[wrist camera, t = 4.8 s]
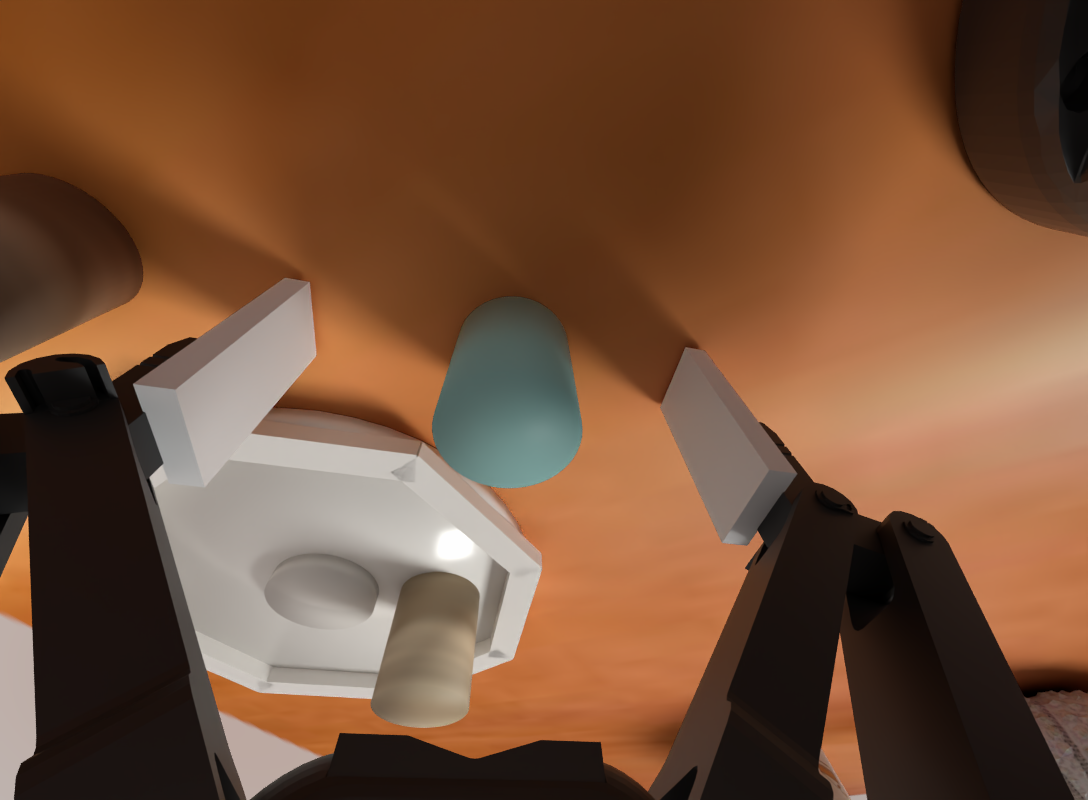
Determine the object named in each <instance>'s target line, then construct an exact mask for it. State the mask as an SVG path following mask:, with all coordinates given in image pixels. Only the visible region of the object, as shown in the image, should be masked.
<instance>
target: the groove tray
mask: <svg viewBox="0 0 1088 800" xmlns="http://www.w3.org/2000/svg"><path fill="white" fill-rule="evenodd" d="M150 480H151V482H152V485H153V487H154V491H155V494H156V498H157V501H158V505H159V508H160V512H161V515H162V518H163V522H164V525H165V529H166V532H167V536H168V539H169V543H170V546H171V550H172V553H173V557H174V560H175V563H176V567H177V570H178V574H179V577H180V581H181V584H182V588H183V591H184V595H185V598H186V601H187V605H188V608H189V612H190V615H191V619H192V622H193V626H194V629H195V633H196V636H197V639H198V643H199V646H200V650H201V653H202V657H203V660H204V664H205V667H206V670H208V671H210V672H213V673H215V674H217V675H220V676H222V677H224V678H227V679H229V680H231V681H234V682H236V683H238V684H241V685H243V686H245V687H248V688H250V689H252V690H255V691H257V692H260V693H277V694H295V695H313V696H331V697H349V698H367V699H372V696H373V692H374V689H375V685H376V681H377V677H378V674H379V670H380V666H381V662H382V659H383V655H384V651H385V647H386V644H387V640H388V636H389V632H390V629H391V625H392V621H393V617H394V614H395V610H396V606H397V602H398V599H399V595H400V591H401V588H402V586H403V584H404V583H405V582H406V581H407V580H409V579H410V578H412V577H414V576H416V575H419V574H422V573H428V572H446V573H452V574H456V575H459V576H461V577H464V578H466V579H468V580H469V581H470V582H472V583H473V584H474V585H475V586H476V587H477V589H478V591H479V593H480V601H479V611H478V621H477V631H476V641H475V651H474V661H473V671H472V675H473V674H475V673H478V672H481V671H483V670H486V669H489V668H491V667H494V666H496V665H499V664H502V663H504V662H507V661H510V660H512V659H513V658H514V655H515V652H516V649H517V646H518V643H519V639H520V636H521V633H522V630H523V627H524V624H525V621H526V618H527V614H528V611H529V608H530V605H531V602H532V599H533V596H534V593H535V589H536V586H537V583H538V580H539V577H540V574H541V571H542V554H541V552H540V551H538V550H537V549H536V548H535V547H534V546H533V545H532V544H531V543H530V542H529V541H528V540H527V539H526V538H525V537H524V536H523V534H522V531H521V529H520V527H519V524H518V522H517V521H516V519H515V518H514V516H513V515H512V513H511V511H510V510H509V508H508V507H507V505H506V504H505V503H504V502H503V501H502V500H501V498H500V497H499V496H498V495H497V494H496V493H495V492H494V491H493V490H492V489H491V487H490V486H487V485H483V484H480V483H477V482H475V481H472V480H470V479H468V478H466V477H464V476H462V475H461V474H459V473H458V472H456V471H455V470H454V469H453V468H452V467H450V466H449V464H448V463H447V462H446V461H445V460H444V459H443V457H442V456H441V455H440V453H439V451H438V449H436V448H434V447H432V446H430V445H428V444H426V443H424V442H422V441H420V440H418V439H416V438H413V437H411V436H408V435H406V434H403V433H401V432H398V431H396V430H393V429H391V428H388V427H385V426H382V425H378V424H375V423H371V422H368V421H365V420H361V419H358V418H354V417H349V416H344V415H338V414H333V413H328V412H322V411H315V410H303V409H292V408H272V409H271V410H270V411H269V412H268V414H267V415H266V416H265V417H264V418H263V419H262V421H261V422H260V423H259V424H258V425H257V427H256V428H255V429H254V430H253V431H252V432H251V434H250V435H249V436H248V437H247V438H246V440H245V441H244V442H243V443H242V444H241V445H240V447H239V448H238V449H237V450H236V451H235V453H234V454H233V455H232V456H231V457H230V458H229V460H228V461H227V462H226V463H225V464H224V466H223V467H222V468H221V469H220V470H219V471H218V473H217V474H216V475H215V476H214V477H213V479H212V480H211V481H210V482H209V483H208V484H207V486H206V487H196V486H186V485H177V484H169V482H168V479H167V477H166V474H165V471H164V468H163V466H160V467H159V468H158V469H157V470H156V471H155V472H154V473H153V474H152V475H151V476H150Z"/></svg>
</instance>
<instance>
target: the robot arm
mask: <svg viewBox="0 0 1088 800" xmlns="http://www.w3.org/2000/svg"><path fill="white" fill-rule="evenodd" d="M955 98H956V108H957V117H958V122H959V127H960V132H961V136H962V140H963V143H964V146H965V149H966V152H967V155H968V157H969V159H970V162H971V164H972V166H973V168H974V170H975V172H976V174H977V175H978V177H979V179H980V180H981V182H982V183H983V184H984V186H985V187H986V188H987V190H988V191H989V192H990V193H991V194H992V195H993V196H994V197H995V198H996V199H997V200H998V201H999V202H1000V203H1001V204H1002V205H1003V206H1005V207H1006V208H1007V209H1008V210H1010V211H1011V212H1013V213H1015V214H1016V215H1018V216H1020V217H1021V218H1023V219H1025V220H1028V221H1030V222H1032V223H1034V224H1037V225H1040V226H1044V227H1047V228H1050V229H1055V230H1059V231H1064V232H1068V233H1073V234H1077V235H1082V236H1086V237H1088V0H963V2H962V7H961V13H960V18H959V26H958V34H957V43H956V56H955ZM316 356H317V355H316V344H315V333H314V322H313V311H312V301H311V290H310V282H307V281H302V280H296V279H290V278H284V279H282V280H281V281H279V282H278V283H277V284H275V285H274V286H272V287H271V288H269V289H268V290H267V291H265V292H264V293H262V294H261V295H259V296H258V297H257V298H255V299H254V300H252V301H251V302H249V303H248V304H247V305H245V306H244V307H242V308H241V309H239V310H238V311H237V312H235V313H234V314H232V315H231V316H229V317H228V318H227V319H225V320H224V321H222V322H221V323H219V324H218V325H217V326H215V327H214V328H212V329H211V330H209V331H208V332H206V333H205V334H204V335H202V336H201V337H199V338H198V339H197V338H191V337H189V338H186V339H183V340H180V341H177V342H174V343H172V344H169V345H167V346H165V347H164V348H162V349H161V350H159V351H158V352H156V353H155V354H153V357H149V358H147V359H145V360H144V361H142V362H141V364H140V365H136V366H135V367H133V368H132V369H130V370H129V371H127V372H126V373H124V374H123V375H121V376H120V377H118V378H117V379H115V380H114V381H111V378H110V375H109V373H108V370H107V368H106V365H105V363H104V362H103V361H102V360H101V359H100V358H97V357H94V356H91V355H85V354H58V355H51V356H46V357H40V358H36V359H33V360H30V361H27V362H24V363H21V364H19V365H17V366H16V367H14V368H12V369H11V370H9V371H8V373H7V374H6V376H5V380H6V382H7V384H8V386H9V387H10V389H11V391H12V393H13V395H14V397H15V398H16V400H17V402H18V404H19V406H20V408H21V409H22V411H23V413H11V414H0V576H1V574H2V572H3V570H4V568H5V565H6V563H7V561H8V559H9V556H10V554H11V552H12V550H13V547H14V545H15V543H16V541H17V538H18V536H19V534H20V532H21V530H22V527H23V525H24V523H25V521H26V518H27V516H28V522H29V549H30V576H31V603H32V630H33V656H34V682H35V710H36V749H35V752H34V755H33V756H32V757H30V758H29V759H27V760H26V761H24V762H23V763H21V765H20V768H19V771H18V773H17V775H16V783H15V794H14V800H246V797H245V794H244V791H243V788H242V785H241V781H240V778H239V776H238V773H237V770H236V768H235V765H234V762H233V759H232V756H231V753H230V750H229V747H228V743H227V740H226V736H225V733H224V729H223V726H222V722H221V719H220V716H219V712H218V709H217V705H216V702H215V698H214V695H213V691H212V688H211V684H210V681H209V678H208V674H207V671H206V667H205V664H204V660H203V657H202V653H201V650H200V646H199V643H198V639H197V636H196V633H195V629H194V626H193V622H192V619H191V615H190V612H189V608H188V605H187V601H186V598H185V595H184V591H183V588H182V584H181V581H180V577H179V574H178V570H177V567H176V563H175V560H174V557H173V553H172V550H171V546H170V543H169V539H168V536H167V532H166V529H165V525H164V522H163V518H162V515H161V512H160V508H159V505H158V501H157V498H156V494H155V491H154V487H153V485H152V482H151V480H150V476H151V475H152V474H153V473H154V472H155V471H156V470H157V469H158V468H159V467H160V466H163V468H164V471H165V474H166V477H167V479H168V482H169V484H177V485H186V486H196V487H206V486H207V484H208V483H209V482H210V481H211V480H212V479H213V477H214V476H215V475H216V474H217V473H218V471H219V470H220V469H221V468H222V467H223V466H224V464H225V463H226V462H227V461H228V460H229V458H230V457H231V456H232V455H233V454H234V453H235V451H236V450H237V449H238V448H239V447H240V445H241V444H242V443H243V442H244V441H245V440H246V438H247V437H248V436H249V435H250V434H251V432H252V431H253V430H254V429H255V428H256V427H257V425H258V424H259V423H260V422H261V421H262V419H263V418H264V417H265V416H266V415H267V414H268V412H269V411H270V410H271V409H272V408H273V406H274V405H275V404H276V403H277V402H278V401H279V399H280V398H281V397H282V396H283V395H284V393H285V392H286V391H287V390H288V389H289V388H290V386H291V385H292V384H293V383H294V382H295V380H296V379H297V378H298V377H299V376H300V375H301V373H302V372H303V371H304V370H305V369H306V367H307V366H308V365H309V364H310V363H311V362H312V360H313V359H314V358H315V357H316ZM660 408H661V411H662V413H663V415H664V417H665V419H666V421H667V424H668V426H669V428H670V430H671V432H672V435H673V437H674V439H675V441H676V443H677V445H678V448H679V450H680V452H681V454H682V456H683V459H684V461H685V463H686V465H687V467H688V470H689V472H690V474H691V476H692V478H693V480H694V483H695V485H696V487H697V489H698V491H699V494H700V496H701V498H702V500H703V502H704V504H705V507H706V509H707V511H708V513H709V515H710V518H711V520H712V522H713V524H714V526H715V529H716V531H717V533H718V535H719V537H720V539H721V542H722V543H728V544H737V545H746V546H747V545H748V544H749V542H750V541H751V540H752V538H753V537H754V535H755V534H756V532H757V531H758V532H759V534H760V535H761V537H762V539H763V541H764V542H763V544H762V545H761V547H760V548H759V549H758V551H757V552H756V553H755V555H754V556H753V558H752V559H751V560H750V562H749V563H748V565H747V566H746V567H745V568H746V569H747V570H749V571H748V574H747V576H746V578H745V580H744V583H743V585H742V587H741V590H740V592H739V594H738V597H737V599H736V601H735V603H734V606H733V608H732V610H731V613H730V615H729V617H728V619H727V622H726V624H725V626H724V629H723V631H722V633H721V636H720V638H719V640H718V642H717V645H716V647H715V649H714V652H713V654H712V656H711V658H710V661H709V663H708V665H707V668H706V670H705V672H704V675H703V677H702V679H701V681H700V684H699V686H698V688H697V691H696V693H695V695H694V697H693V700H692V702H691V704H690V707H689V709H688V711H687V714H686V716H685V718H684V720H683V723H682V725H681V727H680V730H679V732H678V734H677V736H676V739H675V741H674V743H673V746H672V748H671V750H670V753H669V755H668V757H667V759H666V761H665V763H664V765H663V767H662V769H661V771H660V772H659V774H658V776H657V777H656V779H655V781H654V782H653V784H652V785H651V787H650V789H649V791H648V792H647V791H646V790H645V789H644V788H643V787H642V786H641V785H640V784H639V783H637V782H636V781H635V780H633V779H632V778H630V777H629V776H628V775H626V774H625V773H623V772H622V771H620V770H618V769H616V768H614V767H612V766H611V765H608V764H606V763H603V757H602V748H601V742H578V741H549V740H540V741H536V742H533V743H530V744H526V745H523V746H520V747H516V748H513V749H509V750H506V751H503V752H499V753H496V754H493V755H489V756H486V757H482V758H478V759H472V758H468V757H465V756H462V755H459V754H457V753H454V752H451V751H448V750H446V749H443V748H440V747H438V746H435V745H432V744H429V743H427V742H424V741H421V740H419V739H416V738H413V737H410V736H407V735H379V734H350V733H340V734H339V738H338V741H337V744H336V748H335V751H334V753H333V754H329V755H326V756H322V757H320V758H317V759H315V760H312V761H310V762H308V763H305V764H303V765H301V766H299V767H297V768H296V769H294V770H292V771H290V772H288V773H287V774H284V775H283V776H281V777H280V778H278V779H277V780H276V781H274V782H272V783H271V784H270V785H268V786H267V787H265V788H264V789H263V790H261V791H260V792H259V793H258V794H256V795H255V796H254V797H253V798H252V799H250V800H833V797H834V792H833V789H832V786H831V783H830V781H828V780H827V779H826V778H825V777H823V776H822V775H821V774H820V773H819V758H820V751H821V745H822V739H823V733H824V727H825V720H826V714H827V708H828V702H829V696H830V689H831V683H832V677H833V671H834V664H835V658H836V652H837V646H838V640H839V633H840V635H841V641H842V648H843V654H844V660H845V666H846V672H847V678H848V684H849V690H850V696H851V702H852V708H853V715H854V721H855V727H856V733H857V739H858V745H859V751H860V757H861V763H862V769H863V776H864V782H865V788H866V794H867V800H1075V799H1074V797H1073V795H1072V793H1071V791H1070V789H1069V787H1068V785H1067V783H1066V781H1065V779H1064V777H1063V775H1062V773H1061V771H1060V769H1059V767H1058V765H1057V763H1056V760H1055V758H1054V756H1053V754H1052V752H1051V750H1050V748H1049V746H1048V744H1047V742H1046V740H1045V738H1044V736H1043V734H1042V732H1041V730H1040V728H1039V726H1038V724H1037V722H1036V720H1035V718H1034V716H1033V714H1032V712H1031V710H1030V708H1029V706H1028V704H1027V702H1026V700H1025V698H1024V696H1023V694H1022V692H1021V689H1020V687H1019V685H1018V683H1017V681H1016V679H1015V677H1014V675H1013V673H1012V671H1011V669H1010V667H1009V665H1008V663H1007V661H1006V659H1005V657H1004V655H1003V653H1002V651H1001V649H1000V647H999V645H998V643H997V641H996V639H995V637H994V635H993V633H992V631H991V629H990V627H989V625H988V623H987V620H986V618H985V616H984V614H983V612H982V610H981V608H980V606H979V604H978V602H977V600H976V598H975V596H974V594H973V592H972V590H971V588H970V586H969V584H968V582H967V580H966V578H965V576H964V574H963V572H962V570H961V568H960V566H959V564H958V562H957V560H956V558H955V556H954V554H953V551H952V549H951V547H950V545H949V543H948V542H947V541H946V539H945V538H944V537H943V535H942V534H940V533H939V532H938V531H937V530H936V529H935V527H934V526H932V525H931V524H930V523H927V521H925V520H923V519H921V518H918V517H916V516H914V515H912V514H909V513H905V512H902V511H893V512H892V513H890V514H889V515H888V516H887V517H886V518H885V519H884V521H883V522H882V523H881V522H879V521H876V520H873V519H870V518H867V517H864V516H862V515H859V514H858V512H857V509H856V508H855V506H854V505H853V503H852V502H851V501H850V500H848V499H847V498H846V497H845V496H844V495H843V494H841V493H839V492H838V491H836V490H835V489H833V488H830V487H828V486H826V485H823V484H819V483H814V482H813V480H812V479H811V478H810V477H809V475H808V474H807V473H806V471H805V470H804V469H803V468H802V466H801V465H800V464H799V462H798V461H797V460H796V459H795V457H794V456H791V452H790V451H789V450H788V448H787V447H784V443H783V442H782V441H781V439H780V438H779V437H778V436H777V434H776V433H775V432H773V431H772V430H771V429H770V428H768V427H767V426H766V425H765V424H763V423H761V422H758V421H757V419H756V418H755V417H754V415H753V414H752V413H751V411H750V410H749V409H748V407H747V406H746V405H745V403H744V402H743V401H742V399H741V398H740V397H739V395H738V394H737V393H736V391H735V390H734V389H733V387H732V386H731V385H730V383H729V382H728V381H727V380H726V378H725V377H724V376H723V374H722V373H721V372H720V370H719V369H718V368H717V366H716V365H715V364H714V362H713V361H712V360H711V358H710V357H709V356H708V354H707V353H706V352H705V350H699V349H693V348H688V347H685V350H684V352H683V354H682V357H681V359H680V361H679V364H678V366H677V369H676V371H675V373H674V376H673V378H672V380H671V383H670V385H669V388H668V390H667V392H666V395H665V397H664V400H663V402H662V404H661V407H660Z"/></svg>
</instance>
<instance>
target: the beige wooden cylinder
mask: <svg viewBox="0 0 1088 800" xmlns="http://www.w3.org/2000/svg"><path fill="white" fill-rule="evenodd" d="M479 601H480V593H479V591H478V589H477V587H476V586H475V585H474V584H473V583H472V582H470V581H469V580H468V579H466V578H464V577H461V576H459V575H456V574H452V573H446V572H428V573H422V574H419V575H416V576H414V577H412V578H410V579H409V580H407V581H406V582H405V583H404V584H403V586H402V588H401V591H400V595H399V599H398V602H397V606H396V610H395V614H394V617H393V621H392V625H391V629H390V632H389V636H388V640H387V644H386V647H385V651H384V655H383V659H382V662H381V666H380V670H379V674H378V677H377V681H376V685H375V689H374V692H373V696H372V700H371V708H372V710H373V712H374V713H375V714H376V715H377V716H379V717H380V718H382V719H384V720H386V721H388V722H391V723H394V724H398V725H402V726H408V727H418V728H428V727H439V726H444V725H448V724H452V723H454V722H457V721H459V720H460V719H462V718H463V717H464V716H465V715H466V714H467V713H468V710H469V701H470V691H471V681H472V671H473V661H474V651H475V641H476V631H477V621H478V611H479Z"/></svg>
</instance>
